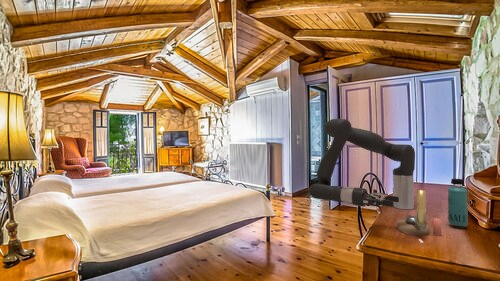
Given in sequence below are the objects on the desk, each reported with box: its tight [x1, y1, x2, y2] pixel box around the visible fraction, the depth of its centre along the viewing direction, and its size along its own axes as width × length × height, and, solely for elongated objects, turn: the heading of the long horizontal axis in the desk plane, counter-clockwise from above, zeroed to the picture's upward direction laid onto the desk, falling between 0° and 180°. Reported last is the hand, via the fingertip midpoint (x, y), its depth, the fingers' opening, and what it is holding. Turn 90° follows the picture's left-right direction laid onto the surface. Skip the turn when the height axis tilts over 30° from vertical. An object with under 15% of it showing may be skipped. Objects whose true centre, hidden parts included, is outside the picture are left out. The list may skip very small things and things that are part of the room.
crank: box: [404, 189, 427, 230], centre depth 99 cm, size 12×5×15 cm, turn 168°
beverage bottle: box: [447, 178, 469, 227], centre depth 104 cm, size 6×7×20 cm
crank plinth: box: [396, 218, 431, 237], centre depth 102 cm, size 11×11×3 cm
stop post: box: [433, 217, 442, 237], centre depth 97 cm, size 2×2×6 cm
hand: (396, 201), depth 99 cm, fingers open, 8 cm apart
